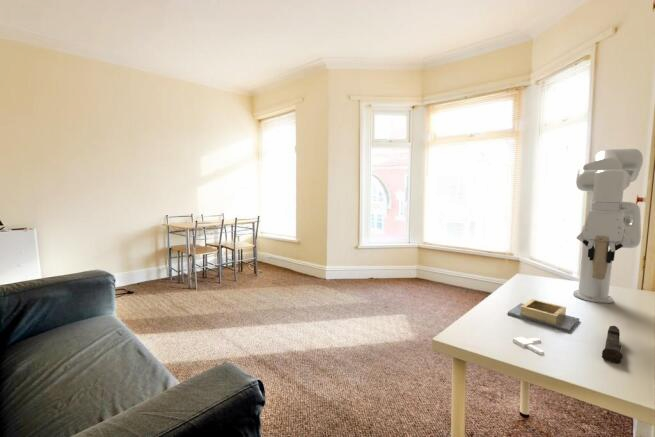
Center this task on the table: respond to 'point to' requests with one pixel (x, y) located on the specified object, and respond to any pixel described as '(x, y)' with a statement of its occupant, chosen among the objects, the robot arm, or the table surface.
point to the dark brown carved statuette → (612, 346)
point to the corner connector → (529, 343)
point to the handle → (600, 257)
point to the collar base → (545, 315)
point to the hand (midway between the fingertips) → (600, 260)
